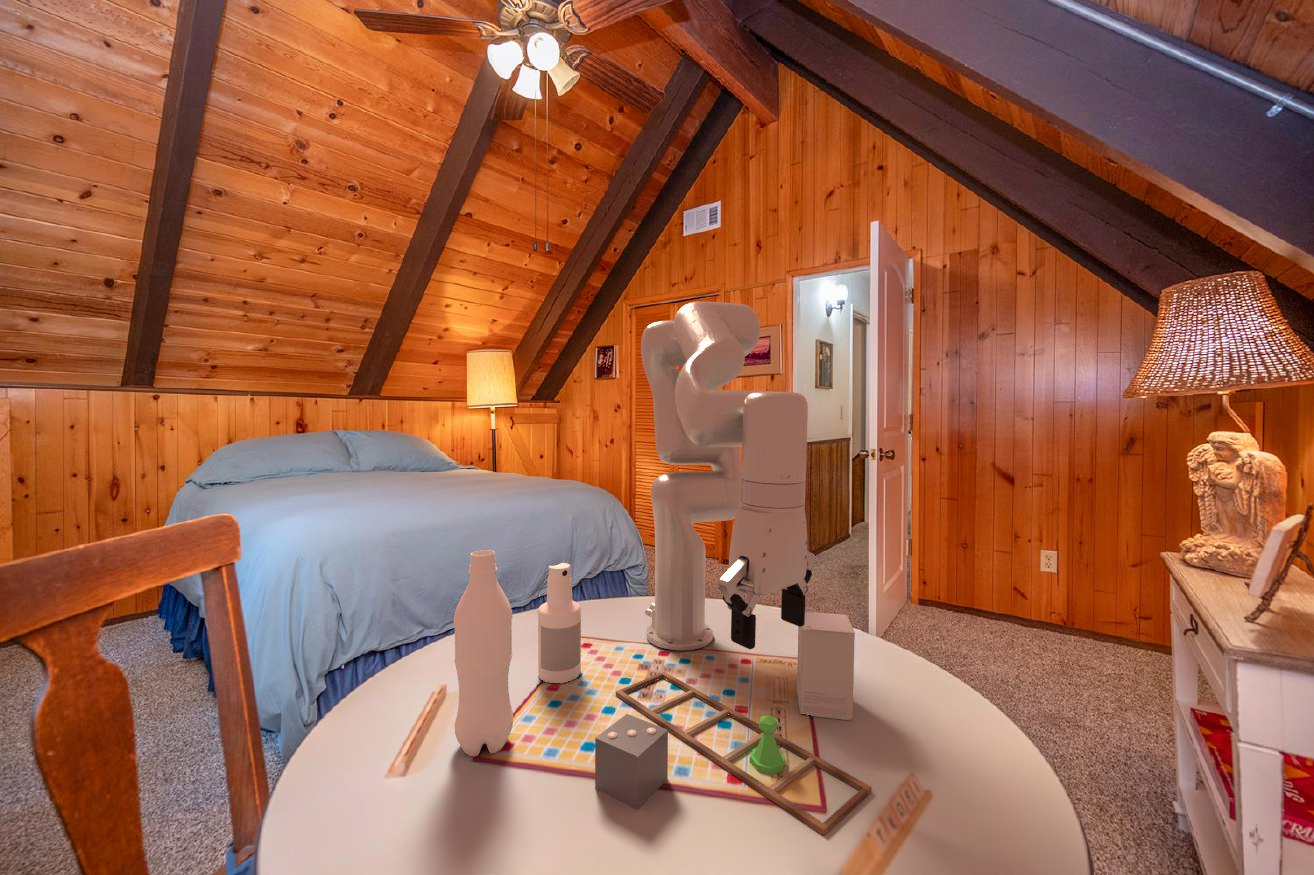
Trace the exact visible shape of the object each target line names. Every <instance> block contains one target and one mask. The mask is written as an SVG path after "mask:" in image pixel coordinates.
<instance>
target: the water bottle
mask: <svg viewBox="0 0 1314 875" xmlns="http://www.w3.org/2000/svg"><path fill="white" fill-rule="evenodd" d="M469 558H470V564H469V569H468V572H467V573H468V575H469V581H468V584H467V587H466V588H465V590H464V593H463V594H462V596H461V598H460V599H459V602H458V604H457V606H456V609H455V612H454V617H453V626H454V665H455V668H456V675H457V681H458V706H457V713H456V717H455V721H454V734H455V737H456V740H457V741H458V744H459V746H460V747H461V749H462V751H463V752H464V753H465V754H466V755H467V756H470V757H479V754H480V752H481V749H482V747H483V745H486V748H487V749H488V751H489V753H490V754H496V753H497V752H499V751H501V750H502V749H503V747H504V746H505V744H506V742H507V741H508V739H509V736H510V734H511V731H512V728H513V725H514V711H513V708H512V704H511V698H510V691H509V690H510V689H509V673H510V672H509V671H510V666H511V661H512V657H513V649H512V648H513V646H512V644H513V643H512V642H513V641H512V640H513V639H512V638H513V637H512V632H513V630H512V629H513V628H512V625H513V624H512V623H513V622H512V619H513V610H512V606H511V603H510V601H509V599H508V598H507V596H506V594H505V592H504V590H503V589H502V587H501V586H500V584H499V581H498V579H497V572H498V571H499V570H498V567H497V562H496V551H494V550H491V549H481V550H476V551H472V552H471V553H470V557H469Z"/></svg>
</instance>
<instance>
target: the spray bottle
mask: <svg viewBox="0 0 1314 875" xmlns="http://www.w3.org/2000/svg"><path fill="white" fill-rule="evenodd" d="M572 583H573V581H572V577H571V564H569V563H566V562H565V563H564V562H560V563H559V564H557V565H556V564H555V565H548V577H547V584H546V585H547V587H546V588H547V591H546V602H544V603H542V604H541V605H540V606H539V607H538V609H537V617H538V619H537V623H538V624H537V627H538V628H537V634H538V635H537V638H538V639H537V641H538V643H537V645H538V648H537V652H538V656H537V658H538V661H537V663H538V665H537V666H538V670H537V671H538V672H537V674H538V677H539V679H540V680H541V681H542V680H543V681H542V682H544V681H545V683H547V682H550V683H549V684H551V683H560V684H566V683H569V682H568V681H570V682H572V681H574V680H576V679H577V678H578V677H579V676H580V674H581V667H582V665H581V664H582V661H581V660H582V658H581V656H582V655H581V654H582V653H581V652H582V651H581V650H582V648H581V647H582V646H581V645H582V643H581V641H582V639H581V637H582V636H581V635H582V634H581V632H582V630H581V628H582V626H581V625H582V618H581V617H582V614H581V612H582V610H581V605H580V604H579V603H578V602H577V601H575V600H573V591H572V587H573V586H572ZM573 679H574V680H573ZM571 680H572V681H571ZM565 682H566V683H565Z"/></svg>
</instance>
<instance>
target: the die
mask: <svg viewBox="0 0 1314 875" xmlns="http://www.w3.org/2000/svg"><path fill="white" fill-rule="evenodd" d="M594 740H595V741H594V742H595V743H594V746H595V748H594V750H595V751H594V762H595V763H594V775H595V776H594V779H595V780H594V789H596V790H598V791H600V792H602V793H604V794H606V795H608V796H610V797H611V798H614V799H615V800H618V801H619V802H622V803H623V804H625V805H627V806H629V807H631V808H633V809H635V810H637V811H638V810H639V809H640V808H641V807H642V806H643V805H644V804H645V803H646V802H647V801H648V800H649V799H650V798H651V797H652V796H653V794H655V792H656V791H658V789H659V788H660V787H661V786H662V785H664V783H666V781H667V780H668V779H669V778H668V777H669V776H668V773H669V772H668V771H669V770H668V769H669V768H668V765H669V763H668V762H669V760H668V758H669V753H668V752H669V731H668V730H667V729H665V728H663V727H662V726H660V725H658V724H655V723H652V722H649V721H646V720H644V719H642V718H639V717H636V716H635V715H631V714H629V713H626V714H625V715H624V716H622V717H620V718H618V720H617V721H616V722H614V723H613V724H611V725H610V726H609V727H607V729H605V730H604V731H602V732H601V733H600V734H598V735H597V736H596V737H595V739H594Z"/></svg>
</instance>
